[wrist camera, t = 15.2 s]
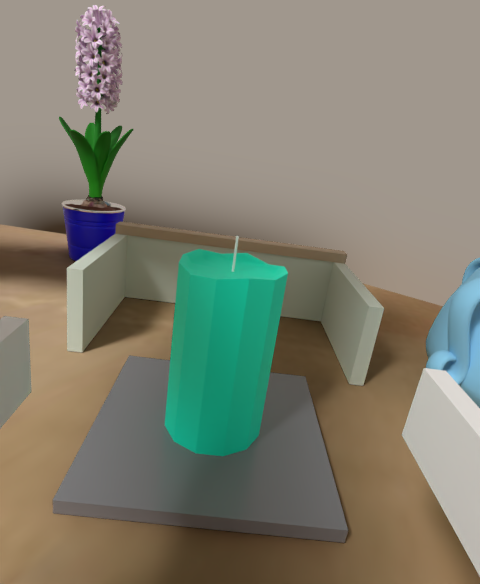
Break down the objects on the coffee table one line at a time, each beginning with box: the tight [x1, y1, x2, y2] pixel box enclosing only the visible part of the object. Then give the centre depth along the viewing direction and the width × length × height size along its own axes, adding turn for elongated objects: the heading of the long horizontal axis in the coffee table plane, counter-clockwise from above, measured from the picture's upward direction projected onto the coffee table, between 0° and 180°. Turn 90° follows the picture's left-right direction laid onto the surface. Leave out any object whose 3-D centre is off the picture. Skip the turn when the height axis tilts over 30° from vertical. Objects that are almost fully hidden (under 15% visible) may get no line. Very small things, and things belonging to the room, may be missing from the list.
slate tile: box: [53, 356, 348, 543], centre depth 26 cm, size 14×14×1 cm
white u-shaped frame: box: [67, 221, 384, 386], centre depth 39 cm, size 24×14×8 cm, turn 90°
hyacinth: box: [59, 5, 133, 261], centre depth 54 cm, size 9×10×30 cm
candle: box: [165, 236, 288, 456], centre depth 24 cm, size 6×6×12 cm
